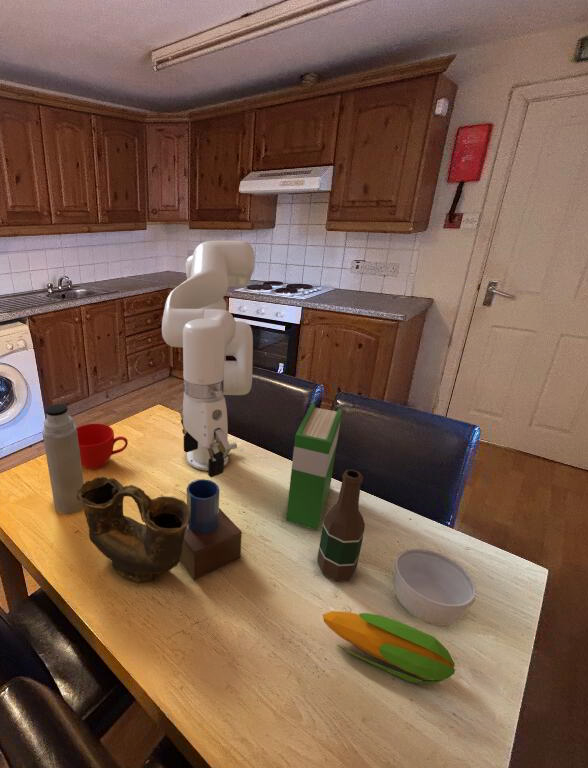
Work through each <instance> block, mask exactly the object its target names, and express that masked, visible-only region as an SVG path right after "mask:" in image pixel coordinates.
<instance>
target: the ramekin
mask: <svg viewBox="0 0 588 768" xmlns="http://www.w3.org/2000/svg"><path fill="white" fill-rule="evenodd" d="M393 572H394V573H393V575H394V576H393V591H394V594H395V597H396V599H397V600H398V601H399V603H400V604H401V605H402V607H403V608H404V609H405V610H406V611H407V612H408V613H410V614H411V615H412V616H414V617H415V618H416V619H418V620H420V621H422V622H424V623H427V624H429V625H434V626H451V625H454V624H456V623H458V622H459V621H460V620H461V619H462V618H463V617H464V616H465V614H466V612H467V611H468V610H469V608H470V607H471V606H472V605H473V604H474V602H475V599H476V597H477V586H476V584H475V582H474V579H473V577H472V575H470V573H469V572H468V571H467V570H466V569H465V568H464V567H463V566H462V565H461V564H460V563H458V562H457V561H455V560H454V559H452V558H451V557H449V556H447V555H446V554H443V553H440V552H438V551H435V550H431V549H429V548H421V547H412V548H408V549H405V550H402V551H401V552H399V553H398V554H397V555H396V558H395V560H394V562H393Z"/></svg>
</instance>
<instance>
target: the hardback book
mask: <svg viewBox="0 0 588 768" xmlns="http://www.w3.org/2000/svg"><path fill="white" fill-rule="evenodd" d="M342 413H343V408H339V407H338V409H337V411H335V410H329V409H325V408H320V407H316V403H311V404H310V406H309V407H308V409H307V411H306V413H305V415H304V417H303V419H302V421H301V422H300V425H299V427H298V429H297V431H296V433H295V435H294V445H293V452H292V463H291V470H290V471H291V472H290V480H289V488H288V498H287V506H286V516H285V521H286V522H289V523H293V524H296V525H299V526H301V527H302V526H303V527H305V528H309V529H312V530H314V531H318V529H319V526H320V523H321V520H322V516H323V512H324V509H325V505H326V502H327V499H328V497H329V493H330V489H331V483H332V477H333V472H334V471H333V470H334V464H335V458H336V451H337V447H338V440H339V439H338V438H339V433H340V427H341V421H342Z"/></svg>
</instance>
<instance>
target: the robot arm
mask: <svg viewBox="0 0 588 768" xmlns="http://www.w3.org/2000/svg"><path fill="white" fill-rule="evenodd" d="M255 263H256V258H255V251H254V248H253V246H252V245H251V243H249V242H248V241H246V240H242V239H241V240H234V239H233V240H226V239H225V240H206V241H202V242H201V243H199V244H198V245H197V246H196V247H195V249H194V251H193V253H192V255H190V256H189V257H187V259H186V261H185V275H186V280H184V281H183V282H181V283H180V284H178V285H177V286H176V287H175V288H174V289H172V290H171V291H170V292H169V294H168V296H167V298H166V300H165V304H164V309H163V313H162V314H163V315H162V319H161V337H162V338H163V341H164V342H165V344H166V345H168V346H170V347H171V348H182V363H183V364H182V366H183V367H182V372H183V376H182V377H183V379H182V380H183V400H182V408H180V409H179V415H180V423H181V425H182V429H181V432H182V434H183V452H184V453H186V461H187V463H188V465H189V466H191V467H192V468H194V469H197V470H201V471H206V472H207V473H208V477H209V478H213V477H217V476H219V475H221V474H223V473H224V471H225V467H226V465H228V463H229V454H230V452H231V450H234V449H237V448H238V444H237V442H236V441H231V442H230V443H229V439H228V437H229V427H228V426H229V425H228V423H229V422H228V410H227V409H228V408H227V403H226V398H225V396H245V395H247V394H248V395H249V393H250V392H251V389H252V385H253V362H254V360H253V359H254V358H253V356H254V354H253V353H254V337H253V330H252V327H251V326H250V324H249V323H247V322H245V321H240V320H238V321H237V320H236V319H235V318H234V316H233V314H232V313H231V312H230V311H229V310H227V302H226V300H225V298H224V297H225V296H226V295H227V293H228V291H229V290H228V289H229V287H245V286H246V285H247V286H248V285H249V283H250V281H251V279H252V276H253V273H254V270H255V265H256V264H255ZM227 356H228V357H234V358H235V359H236V360H225V359H226V358H225V357H227Z"/></svg>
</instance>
